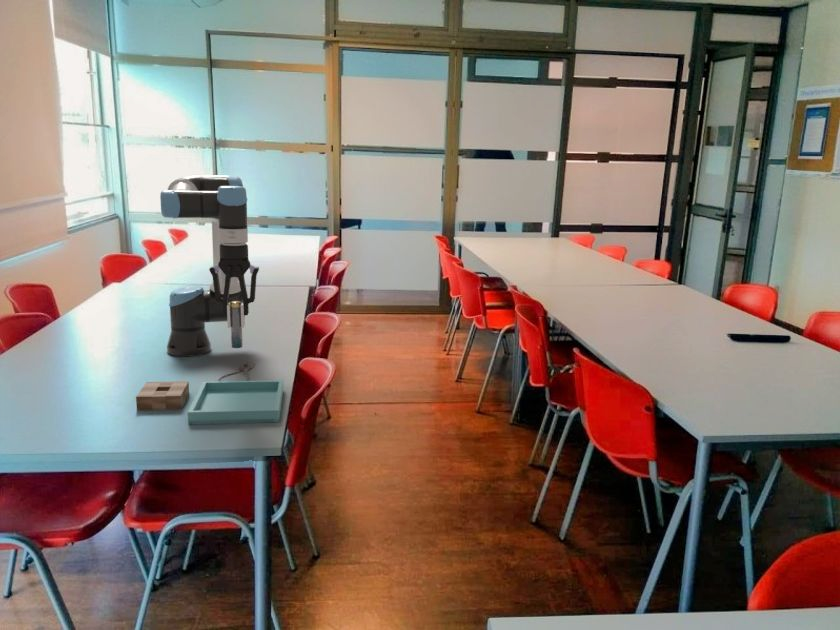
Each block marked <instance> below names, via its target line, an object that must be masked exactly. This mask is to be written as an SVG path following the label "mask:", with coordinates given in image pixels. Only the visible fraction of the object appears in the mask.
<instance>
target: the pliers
mask: <svg viewBox="0 0 840 630" xmlns="http://www.w3.org/2000/svg"><path fill="white" fill-rule="evenodd" d="M247 365H248V362H245V363H244V364H242V365H241V366H240V367H239V368H238V369H237V370H235V371H233V372H230V373H227V374H224V375H222V376H220V377H219V378H218V379H217V381H222V379H224V378H226V377H229V376H232V375H235V374H238V373H241V372H243V374H244V376H246V379H245V381H250V374H249V371H251V370H252V369H254V367H255V365H256V362H254V363H252V364H251V365H249V366H247Z"/></svg>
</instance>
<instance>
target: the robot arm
mask: <svg viewBox="0 0 840 630" xmlns="http://www.w3.org/2000/svg"><path fill="white" fill-rule="evenodd" d="M159 194H160V197H159V198H160V212H161V216H162V217H164V218H166V219H169V218H170V219H184V218H185V219H189V218H191V219H195V218H196V219H199V218H201V219H211V233H212V234H211V235H212V236H211V237H212V262H213V263H212V265H213V266H210V267H209V269H208V270H209V273H210V274H211V276H212V283H211V284H209V289H208V290H204V287H203V286H200V285H191V286H184V287H180V288H177V289H174V290H172V291H171V292H170V294H169V304H168V306H169V313H170V314H169V315H170V334H169V338H168V342H167V345H166V352H167V354H168V355H172V356H176V357H194V356H201V355H204V354H207V353H209V352H210V351H211V350H212V349H211V348H212V347H211V345H212V344H211V341H210V339H209V336H208V334H207V331H206V324H205V323H221V322H227V328H230V329H231V314H230V302H232V301H240V302H241V328H242V329H243V328H244V329H245V326H246V318H245V317H246V316H248V315H249V312H250V311H249V304H251V303H254V302H255V299H256V290H257V289H256V288H257V275H258V273H259V270H260V267H259V266H255V265H252V264H251V262H250V260H249V245H248V244H247V243H248V242H249V237H248V236H249V235H248V229H249V228H248V198H247V190H246V187H245V186H244V184H243V180H242V179H241V178H240V177H239V176H235V175H229V174H228V175H213V174H212V175H211V174H210V175H208V174H207V175H204V174H203V175H199V174H194V175H193V174H192V175H185V176H183V177H179V178H177V179H175V180H173V181H172V182H171V183H170V184H169V185H168V187H167V190H166V189H165V190H162V191H161V192H160V193H159ZM248 270H249V273H250V274H251V275H250V276H251V277H250V293H249V297H248V291H247V285H246V280H245V274H246V272H247V271H248Z"/></svg>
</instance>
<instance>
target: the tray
mask: <svg viewBox="0 0 840 630" xmlns="http://www.w3.org/2000/svg"><path fill="white" fill-rule="evenodd" d="M283 395H284V379H283V380H282V379H279V380H278V379H277V380H276V379H275V380H273V379H272V380H248V381H246V380H223V381H222V380H220V381H218V380H216V381H212V380H211V381H209V380H208V381H202V382H201V385H200V386H199V389H198V391H197V393H196V395H195V397H194V399H193V401H192V403H191V405H190V407H189V408H188V410H187V421H188V423H187V424H188V425H212V424H213V425H216V424H221V425H222V424H252V423H253V424H254V423H261V424H262V423H279V422H280V417H281V410H282V404H283Z"/></svg>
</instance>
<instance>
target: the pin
mask: <svg viewBox="0 0 840 630" xmlns="http://www.w3.org/2000/svg"><path fill="white" fill-rule="evenodd" d="M230 314H231V328H230V339H231V349H241V348H243V328H241V302H240V301H232V302H230Z"/></svg>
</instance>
